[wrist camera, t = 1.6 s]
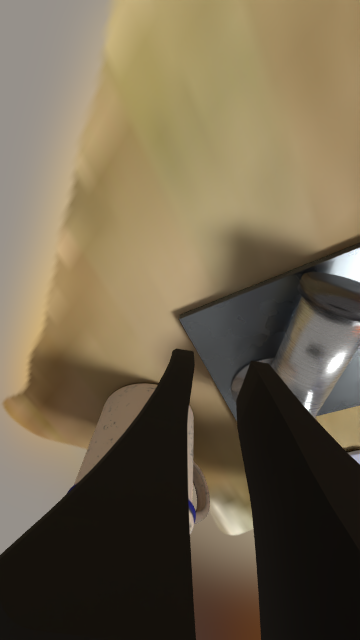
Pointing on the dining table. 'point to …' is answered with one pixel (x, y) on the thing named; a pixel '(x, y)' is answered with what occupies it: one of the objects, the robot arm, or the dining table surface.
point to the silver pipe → (320, 337)
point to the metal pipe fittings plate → (265, 330)
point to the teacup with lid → (114, 424)
